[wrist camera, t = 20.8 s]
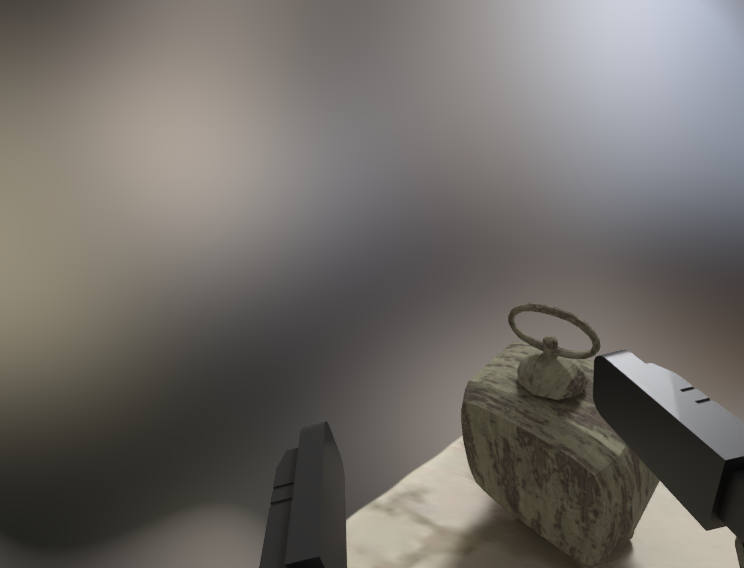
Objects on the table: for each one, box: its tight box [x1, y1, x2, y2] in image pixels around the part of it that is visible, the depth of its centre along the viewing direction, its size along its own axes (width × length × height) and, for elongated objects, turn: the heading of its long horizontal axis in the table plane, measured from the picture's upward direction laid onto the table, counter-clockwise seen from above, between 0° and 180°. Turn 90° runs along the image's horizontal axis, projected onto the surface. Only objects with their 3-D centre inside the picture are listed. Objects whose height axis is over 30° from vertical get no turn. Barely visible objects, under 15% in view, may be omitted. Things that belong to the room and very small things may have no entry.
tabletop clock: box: [461, 303, 660, 567], centre depth 31 cm, size 14×9×25 cm, turn 38°
